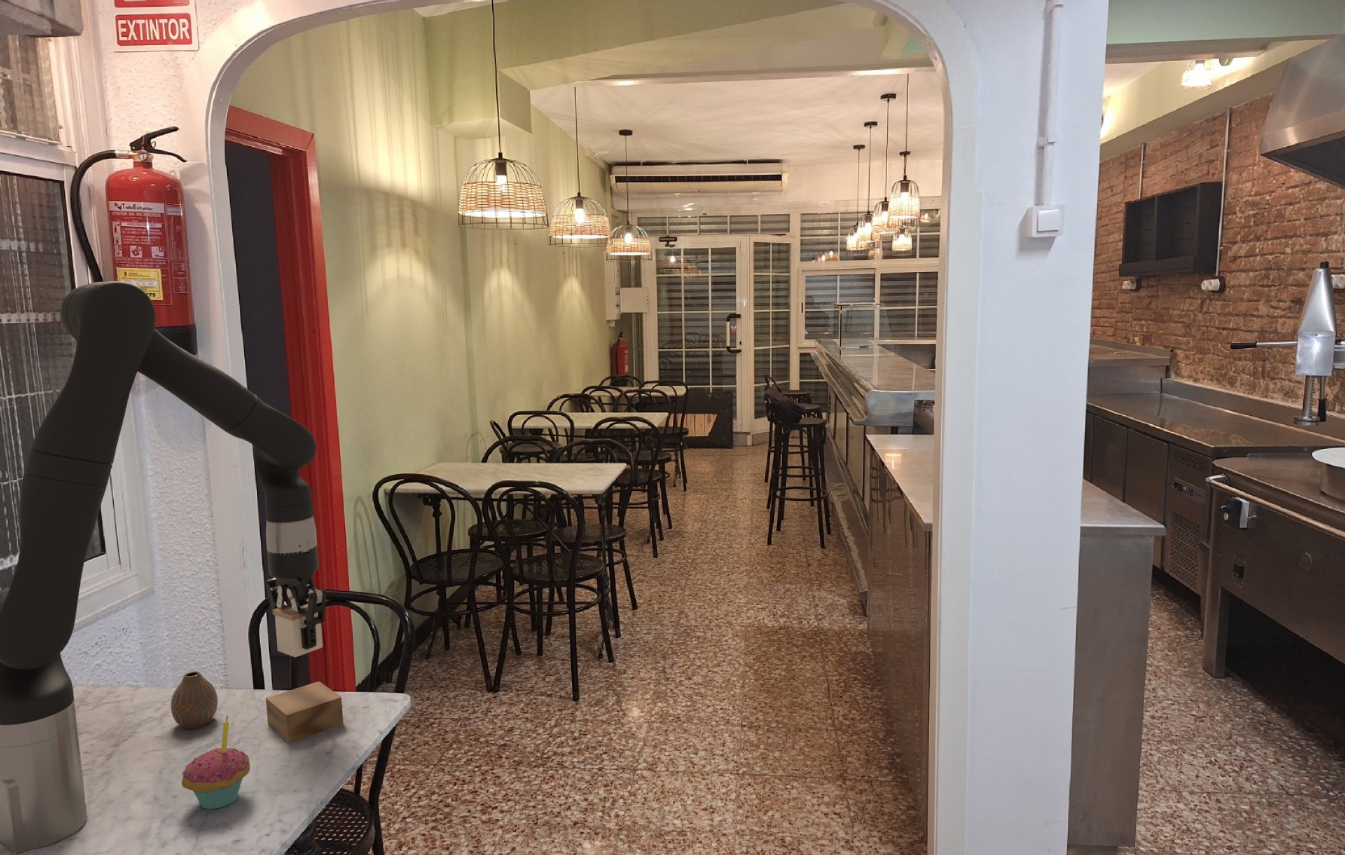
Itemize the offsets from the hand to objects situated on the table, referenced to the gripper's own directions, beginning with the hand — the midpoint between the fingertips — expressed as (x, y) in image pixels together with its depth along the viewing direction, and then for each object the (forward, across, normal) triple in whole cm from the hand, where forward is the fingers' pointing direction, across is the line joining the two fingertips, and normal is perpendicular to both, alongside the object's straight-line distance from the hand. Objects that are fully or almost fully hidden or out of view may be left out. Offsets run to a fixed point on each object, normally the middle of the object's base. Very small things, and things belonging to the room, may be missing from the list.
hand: (299, 643), depth 143 cm
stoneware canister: (+1, 0, 0) cm, 1 cm away
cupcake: (+14, +11, -20) cm, 27 cm away
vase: (+14, -16, -10) cm, 24 cm away
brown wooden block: (+14, 0, 0) cm, 14 cm away
